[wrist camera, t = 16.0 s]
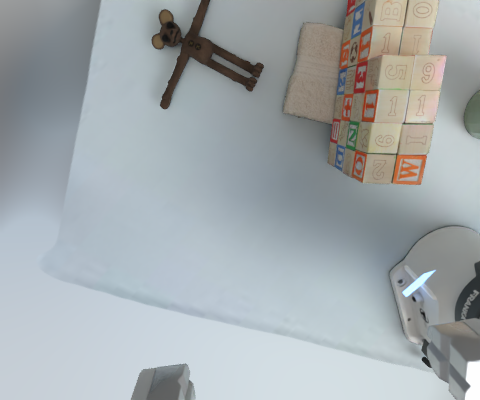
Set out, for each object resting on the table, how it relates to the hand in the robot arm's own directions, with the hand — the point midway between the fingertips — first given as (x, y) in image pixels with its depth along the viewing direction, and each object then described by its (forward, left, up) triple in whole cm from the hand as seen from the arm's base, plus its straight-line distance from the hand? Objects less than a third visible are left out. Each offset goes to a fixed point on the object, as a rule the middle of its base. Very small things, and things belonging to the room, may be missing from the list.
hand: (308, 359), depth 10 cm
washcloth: (+9, -16, -37) cm, 42 cm away
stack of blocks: (+9, -16, -34) cm, 39 cm away
